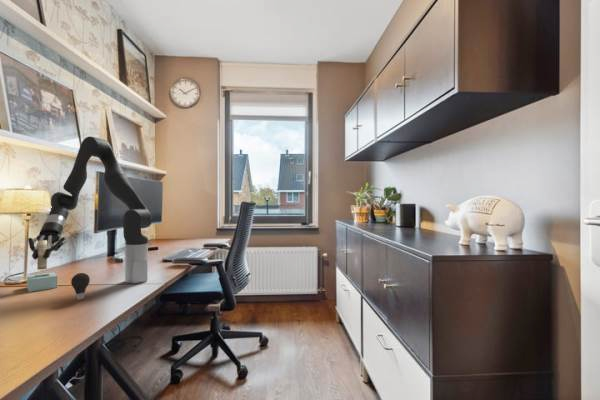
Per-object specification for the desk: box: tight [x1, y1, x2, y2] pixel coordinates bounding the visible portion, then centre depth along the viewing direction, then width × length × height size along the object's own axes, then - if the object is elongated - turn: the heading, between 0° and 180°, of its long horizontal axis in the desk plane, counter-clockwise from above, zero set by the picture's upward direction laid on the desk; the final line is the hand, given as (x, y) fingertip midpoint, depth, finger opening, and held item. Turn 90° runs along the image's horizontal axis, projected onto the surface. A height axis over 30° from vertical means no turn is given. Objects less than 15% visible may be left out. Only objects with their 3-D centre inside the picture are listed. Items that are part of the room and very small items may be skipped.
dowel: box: [36, 240, 48, 271], centre depth 129 cm, size 3×3×12 cm
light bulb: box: [70, 272, 90, 301], centre depth 113 cm, size 6×6×10 cm
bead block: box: [26, 272, 58, 293], centre depth 128 cm, size 9×9×5 cm
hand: (40, 258), depth 127 cm, fingers closed on dowel, 3 cm apart
